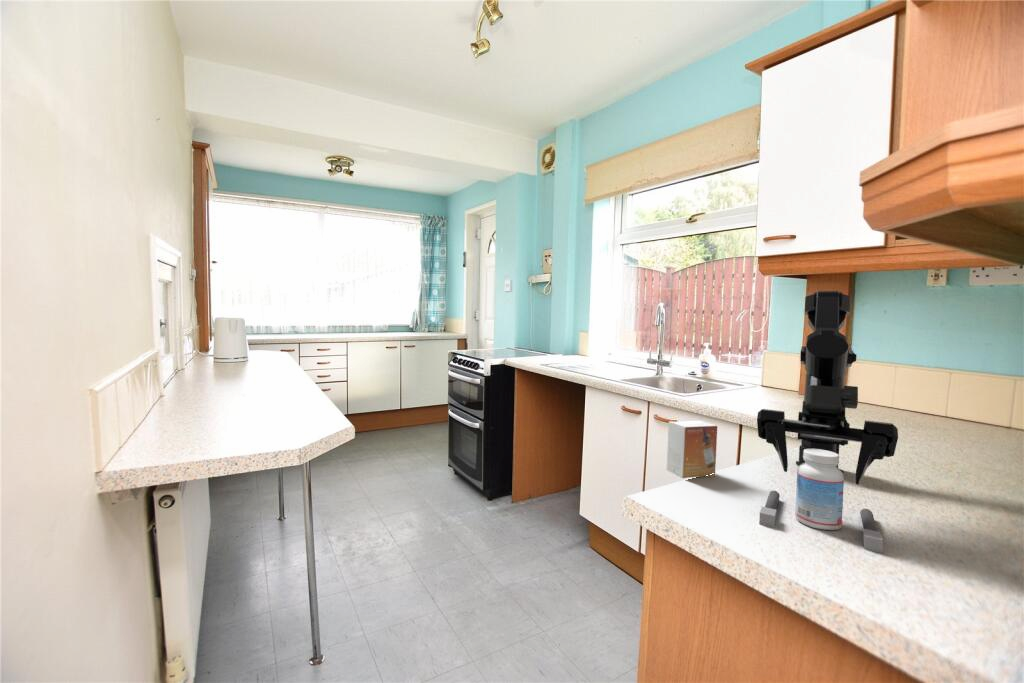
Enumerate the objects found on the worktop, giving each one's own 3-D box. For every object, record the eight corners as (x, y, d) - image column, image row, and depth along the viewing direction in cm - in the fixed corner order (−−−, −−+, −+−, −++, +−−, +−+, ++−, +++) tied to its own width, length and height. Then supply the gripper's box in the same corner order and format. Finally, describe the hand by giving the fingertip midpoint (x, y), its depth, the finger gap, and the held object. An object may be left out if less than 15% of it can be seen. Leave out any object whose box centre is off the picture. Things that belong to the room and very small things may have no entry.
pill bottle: (849, 533, 68) (853, 459, 67) (804, 529, 69) (808, 456, 69) (830, 517, 74) (833, 448, 73) (788, 513, 75) (792, 445, 75)
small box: (682, 479, 90) (684, 427, 90) (665, 470, 96) (667, 420, 95) (716, 476, 92) (718, 425, 92) (698, 467, 98) (700, 419, 97)
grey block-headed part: (858, 517, 74) (858, 506, 74) (874, 520, 73) (874, 509, 73) (864, 549, 63) (864, 536, 63) (882, 553, 62) (883, 540, 62)
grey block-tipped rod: (767, 498, 81) (768, 488, 81) (780, 500, 80) (781, 490, 80) (759, 524, 71) (759, 512, 71) (774, 527, 69) (774, 516, 69)
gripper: (760, 362, 79) (749, 437, 71) (900, 371, 69) (906, 460, 60) (763, 401, 86) (753, 474, 78) (890, 415, 76) (895, 500, 67)
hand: (820, 476), depth 70 cm, fingers open, 9 cm apart
